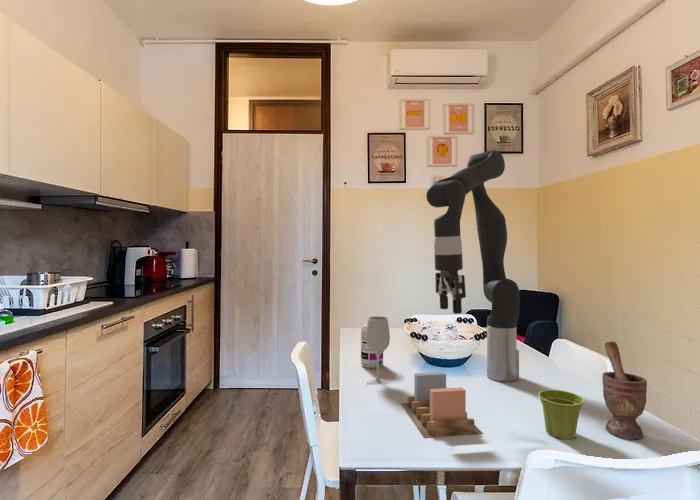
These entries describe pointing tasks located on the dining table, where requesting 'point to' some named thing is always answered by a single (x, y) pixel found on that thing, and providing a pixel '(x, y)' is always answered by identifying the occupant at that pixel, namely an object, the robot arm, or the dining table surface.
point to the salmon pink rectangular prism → (447, 404)
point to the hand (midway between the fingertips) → (450, 311)
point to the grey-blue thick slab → (427, 384)
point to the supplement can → (368, 352)
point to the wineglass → (377, 341)
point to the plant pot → (561, 412)
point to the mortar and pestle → (623, 397)
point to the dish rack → (441, 428)
